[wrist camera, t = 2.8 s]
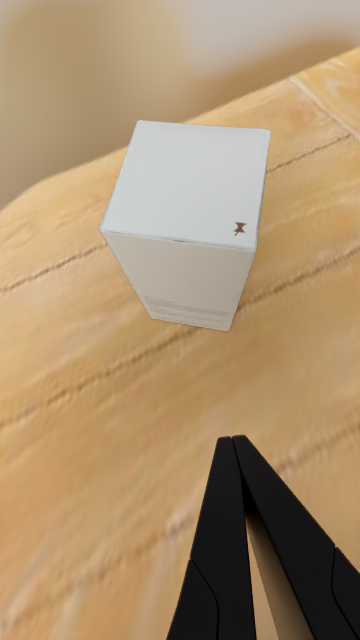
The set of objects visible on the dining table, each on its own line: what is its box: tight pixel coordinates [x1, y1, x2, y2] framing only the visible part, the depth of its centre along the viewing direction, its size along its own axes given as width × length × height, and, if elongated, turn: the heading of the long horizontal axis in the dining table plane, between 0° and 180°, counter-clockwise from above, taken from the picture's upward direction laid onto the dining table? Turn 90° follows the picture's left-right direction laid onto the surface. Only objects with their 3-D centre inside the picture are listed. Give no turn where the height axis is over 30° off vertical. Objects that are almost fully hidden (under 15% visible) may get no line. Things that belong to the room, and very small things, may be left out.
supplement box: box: [99, 120, 271, 332], centre depth 19 cm, size 7×7×13 cm
